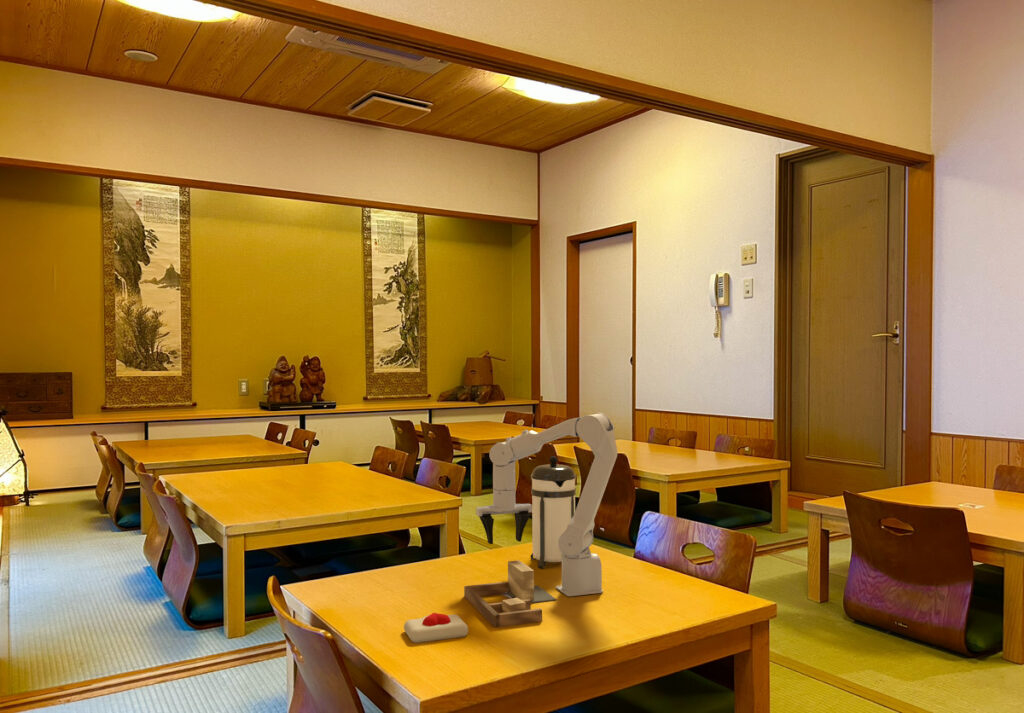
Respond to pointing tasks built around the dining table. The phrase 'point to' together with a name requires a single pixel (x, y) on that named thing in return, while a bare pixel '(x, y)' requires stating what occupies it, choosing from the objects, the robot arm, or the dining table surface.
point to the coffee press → (551, 509)
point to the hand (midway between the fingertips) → (504, 542)
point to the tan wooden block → (521, 580)
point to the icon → (435, 628)
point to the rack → (499, 605)
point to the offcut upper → (513, 605)
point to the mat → (538, 595)
